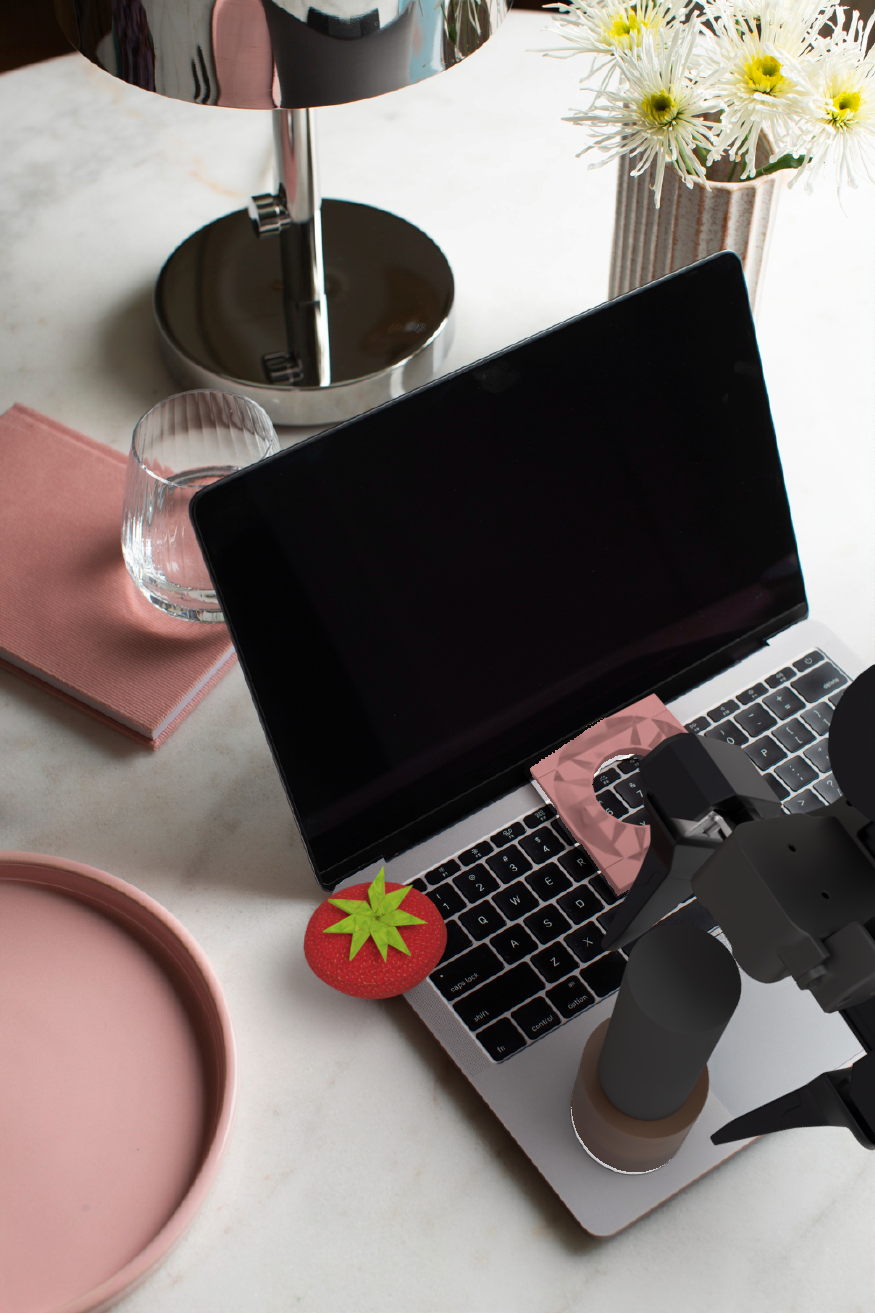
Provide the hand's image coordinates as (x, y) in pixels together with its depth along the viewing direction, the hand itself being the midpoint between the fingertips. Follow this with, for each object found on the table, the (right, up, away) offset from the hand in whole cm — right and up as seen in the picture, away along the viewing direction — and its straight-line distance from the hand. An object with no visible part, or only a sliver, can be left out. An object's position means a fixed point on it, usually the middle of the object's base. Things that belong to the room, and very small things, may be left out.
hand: (658, 1039), depth 50 cm
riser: (0, -7, +9) cm, 12 cm away
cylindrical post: (0, -3, +4) cm, 5 cm away
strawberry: (-13, -1, +14) cm, 19 cm away
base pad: (+3, +8, +21) cm, 22 cm away
